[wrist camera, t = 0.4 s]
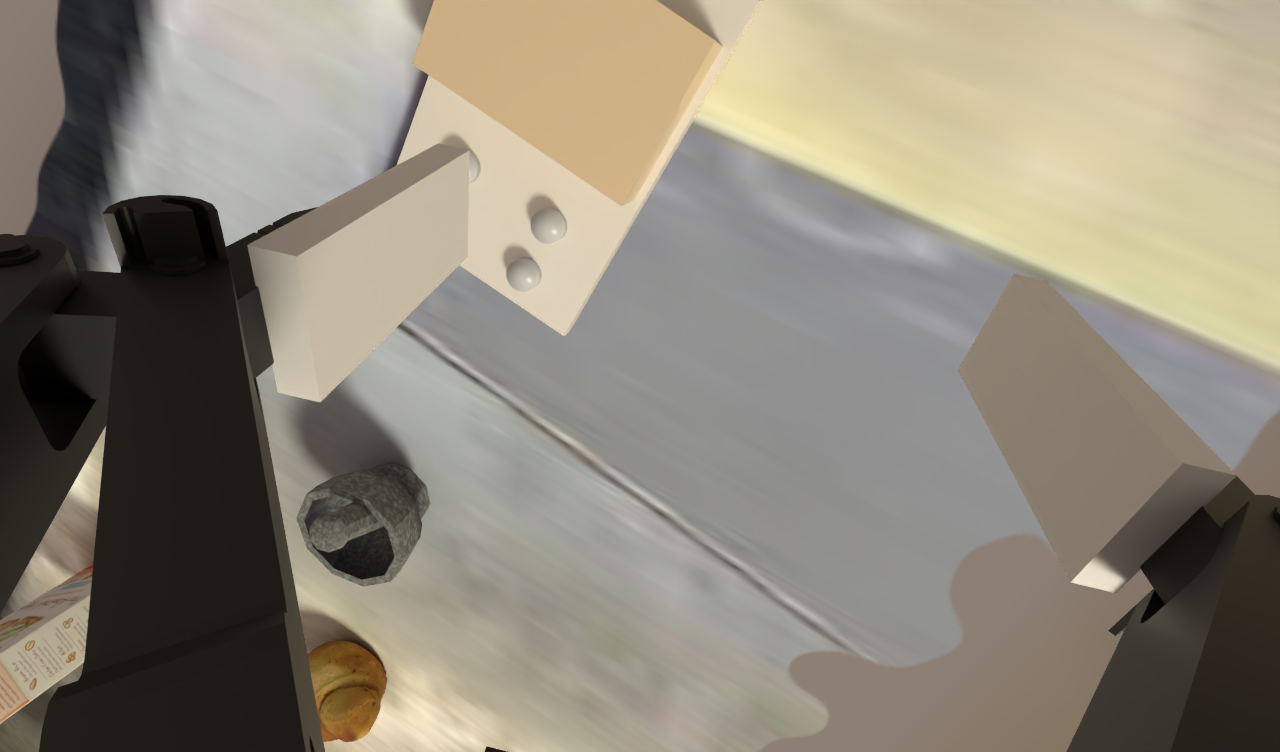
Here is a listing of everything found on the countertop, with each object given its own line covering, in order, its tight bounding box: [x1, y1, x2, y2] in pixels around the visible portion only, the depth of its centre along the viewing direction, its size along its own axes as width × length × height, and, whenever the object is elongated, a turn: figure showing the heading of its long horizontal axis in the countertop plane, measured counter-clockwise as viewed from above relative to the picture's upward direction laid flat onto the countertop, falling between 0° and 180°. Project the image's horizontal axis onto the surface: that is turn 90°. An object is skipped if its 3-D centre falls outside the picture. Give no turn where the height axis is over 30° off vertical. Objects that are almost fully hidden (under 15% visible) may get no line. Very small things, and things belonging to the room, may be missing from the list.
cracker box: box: [0, 567, 93, 724], centre depth 62 cm, size 14×6×21 cm, turn 112°
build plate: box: [397, 0, 763, 336], centre depth 37 cm, size 24×16×4 cm, turn 149°
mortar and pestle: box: [297, 463, 430, 586], centre depth 50 cm, size 11×9×12 cm
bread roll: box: [307, 641, 387, 742], centre depth 64 cm, size 13×10×8 cm
